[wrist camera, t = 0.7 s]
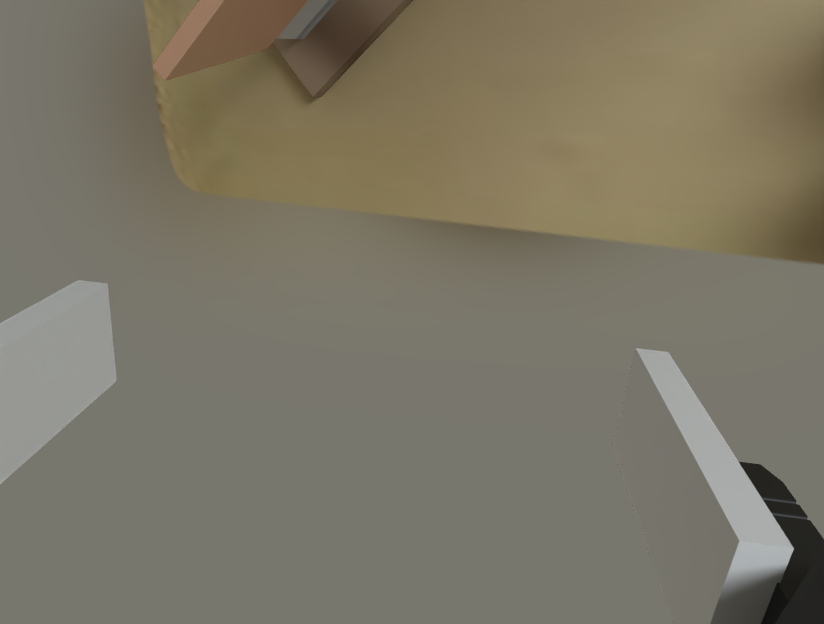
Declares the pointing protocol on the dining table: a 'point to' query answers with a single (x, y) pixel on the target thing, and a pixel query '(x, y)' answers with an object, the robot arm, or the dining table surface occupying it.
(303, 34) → the cable duct
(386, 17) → the mounting board
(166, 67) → the panel
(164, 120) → the dining table surface
